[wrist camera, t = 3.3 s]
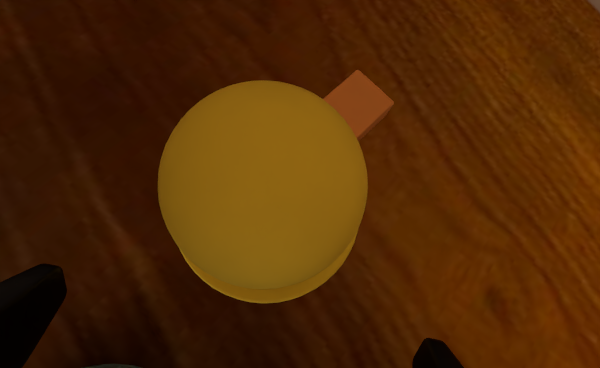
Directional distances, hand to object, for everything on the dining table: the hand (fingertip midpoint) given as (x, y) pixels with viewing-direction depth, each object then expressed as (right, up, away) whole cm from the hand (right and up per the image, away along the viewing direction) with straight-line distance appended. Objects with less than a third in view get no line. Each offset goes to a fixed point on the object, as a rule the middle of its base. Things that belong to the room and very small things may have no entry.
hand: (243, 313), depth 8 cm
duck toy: (0, 0, +10) cm, 10 cm away
